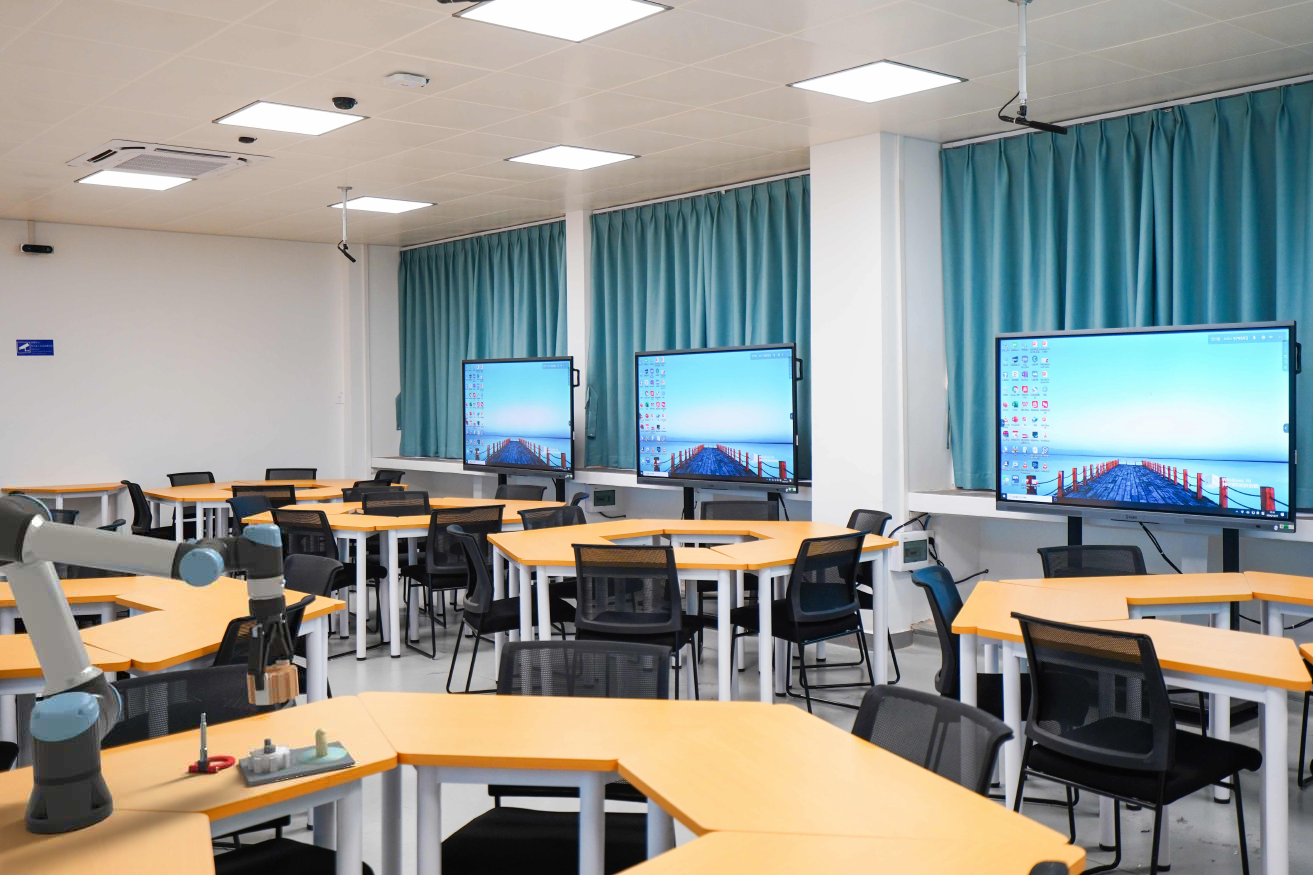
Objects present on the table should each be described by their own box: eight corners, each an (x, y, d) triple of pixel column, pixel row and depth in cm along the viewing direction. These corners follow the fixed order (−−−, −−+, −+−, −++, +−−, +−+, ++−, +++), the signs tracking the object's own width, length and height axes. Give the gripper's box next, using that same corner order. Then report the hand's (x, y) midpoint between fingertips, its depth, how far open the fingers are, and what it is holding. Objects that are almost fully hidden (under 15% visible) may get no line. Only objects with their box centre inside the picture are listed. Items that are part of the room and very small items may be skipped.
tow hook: (208, 759, 238) (184, 772, 229) (207, 703, 238) (183, 713, 229) (242, 761, 237) (219, 774, 228) (241, 704, 237) (218, 714, 228)
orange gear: (286, 704, 221) (284, 676, 221) (240, 705, 222) (238, 677, 222) (306, 689, 232) (304, 663, 231) (261, 691, 232) (259, 664, 232)
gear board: (249, 786, 220) (247, 752, 219) (238, 763, 234) (237, 731, 233) (355, 765, 230) (353, 733, 230) (339, 745, 244) (337, 714, 244)
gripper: (260, 606, 214) (267, 712, 215) (304, 584, 237) (311, 680, 238) (224, 607, 215) (232, 713, 216) (272, 586, 237) (279, 681, 238)
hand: (274, 696), depth 227 cm, fingers closed on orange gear, 10 cm apart
